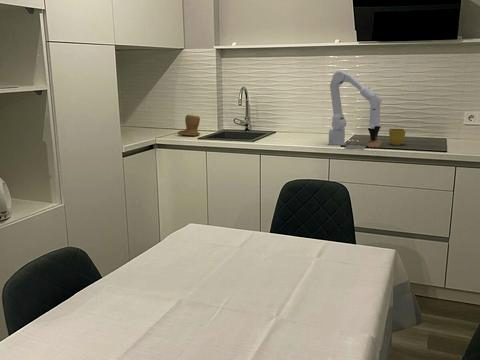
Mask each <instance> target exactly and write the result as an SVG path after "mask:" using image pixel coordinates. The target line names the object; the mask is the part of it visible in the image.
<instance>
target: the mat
mask: <svg viewBox="0 0 480 360" xmlns="http://www.w3.org/2000/svg"><path fill="white" fill-rule="evenodd" d="M364 148H365V149H366V148H368V147H367V145H354V144H347V145H346V146H345V147H344V148H343V149H346V150H360V151H361V150H365V149H364Z"/></svg>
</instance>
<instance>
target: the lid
mask: <svg viewBox="0 0 480 360" xmlns="http://www.w3.org/2000/svg"><path fill="white" fill-rule="evenodd" d="M376 136H377V135H376ZM377 137H378V136H377ZM367 142H372V143H377V142H381V143H382V139H378V138H377V139H376V137H375V140H371V138H370V139H366V143H367Z"/></svg>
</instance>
